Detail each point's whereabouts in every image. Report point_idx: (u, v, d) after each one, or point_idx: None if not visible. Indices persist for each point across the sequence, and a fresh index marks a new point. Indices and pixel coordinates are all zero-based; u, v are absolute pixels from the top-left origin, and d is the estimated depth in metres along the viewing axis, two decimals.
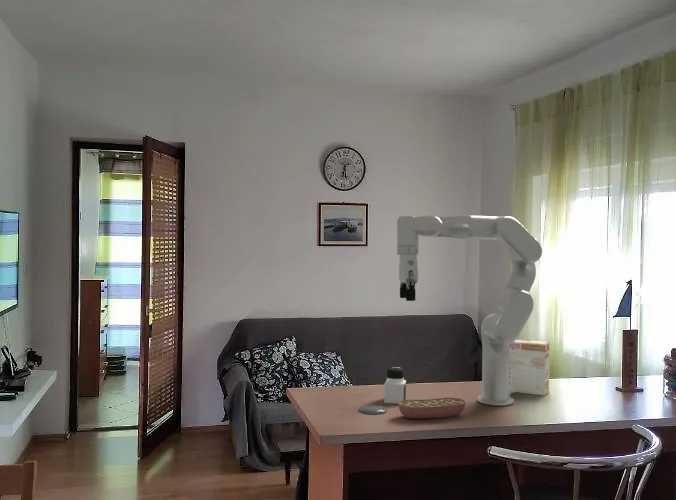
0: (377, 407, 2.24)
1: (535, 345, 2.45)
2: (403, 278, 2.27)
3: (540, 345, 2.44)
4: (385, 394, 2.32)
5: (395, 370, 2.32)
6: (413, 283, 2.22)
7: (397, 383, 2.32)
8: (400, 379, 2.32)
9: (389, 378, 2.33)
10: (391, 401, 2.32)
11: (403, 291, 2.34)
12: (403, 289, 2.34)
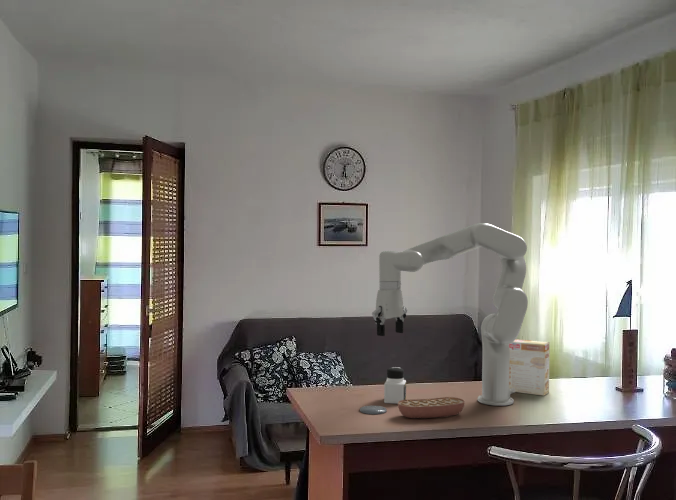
0: (377, 407, 2.24)
1: (535, 345, 2.45)
2: (399, 313, 2.31)
3: (540, 345, 2.44)
4: (385, 394, 2.32)
5: (395, 370, 2.32)
6: None
7: (397, 383, 2.32)
8: (400, 379, 2.32)
9: (389, 378, 2.33)
10: (391, 401, 2.32)
11: None
12: None
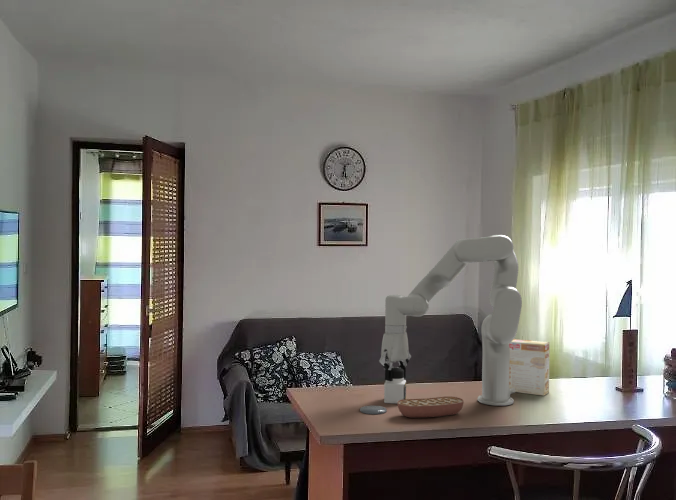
0: (377, 407, 2.24)
1: (535, 345, 2.45)
2: (404, 356, 2.35)
3: (540, 345, 2.44)
4: (385, 394, 2.32)
5: (395, 370, 2.32)
6: None
7: (397, 383, 2.32)
8: (400, 379, 2.32)
9: None
10: (391, 401, 2.32)
11: None
12: None
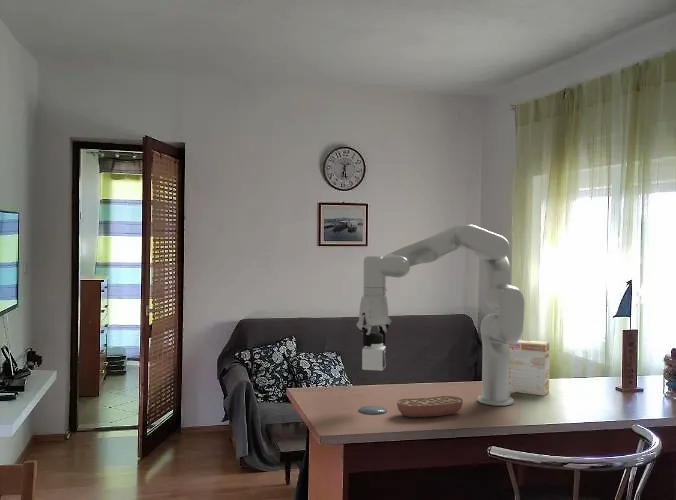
0: (377, 407, 2.24)
1: (535, 345, 2.45)
2: (384, 320, 2.22)
3: (540, 345, 2.44)
4: (363, 360, 2.19)
5: (374, 335, 2.20)
6: None
7: (376, 348, 2.19)
8: (379, 344, 2.20)
9: None
10: (369, 367, 2.19)
11: None
12: None
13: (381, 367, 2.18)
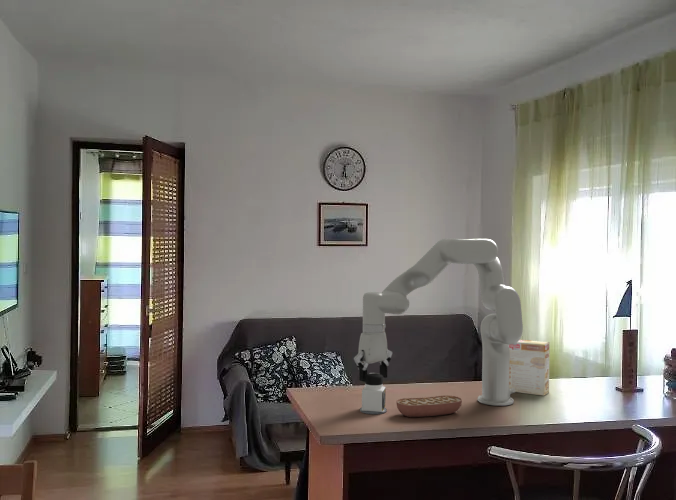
0: None
1: (535, 345, 2.45)
2: (383, 357, 2.22)
3: (540, 345, 2.44)
4: (363, 401, 2.19)
5: (373, 376, 2.20)
6: None
7: (375, 390, 2.19)
8: (378, 385, 2.20)
9: (367, 384, 2.20)
10: (369, 409, 2.19)
11: None
12: None
13: (381, 408, 2.18)
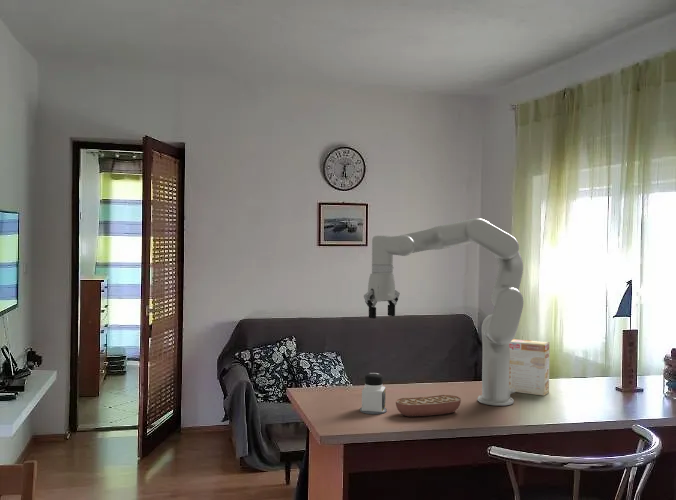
0: None
1: (535, 345, 2.45)
2: (391, 296, 2.35)
3: (540, 345, 2.44)
4: (362, 401, 2.19)
5: (373, 376, 2.20)
6: None
7: (375, 390, 2.19)
8: (378, 386, 2.19)
9: (367, 384, 2.20)
10: (369, 409, 2.19)
11: None
12: None
13: (381, 409, 2.18)
